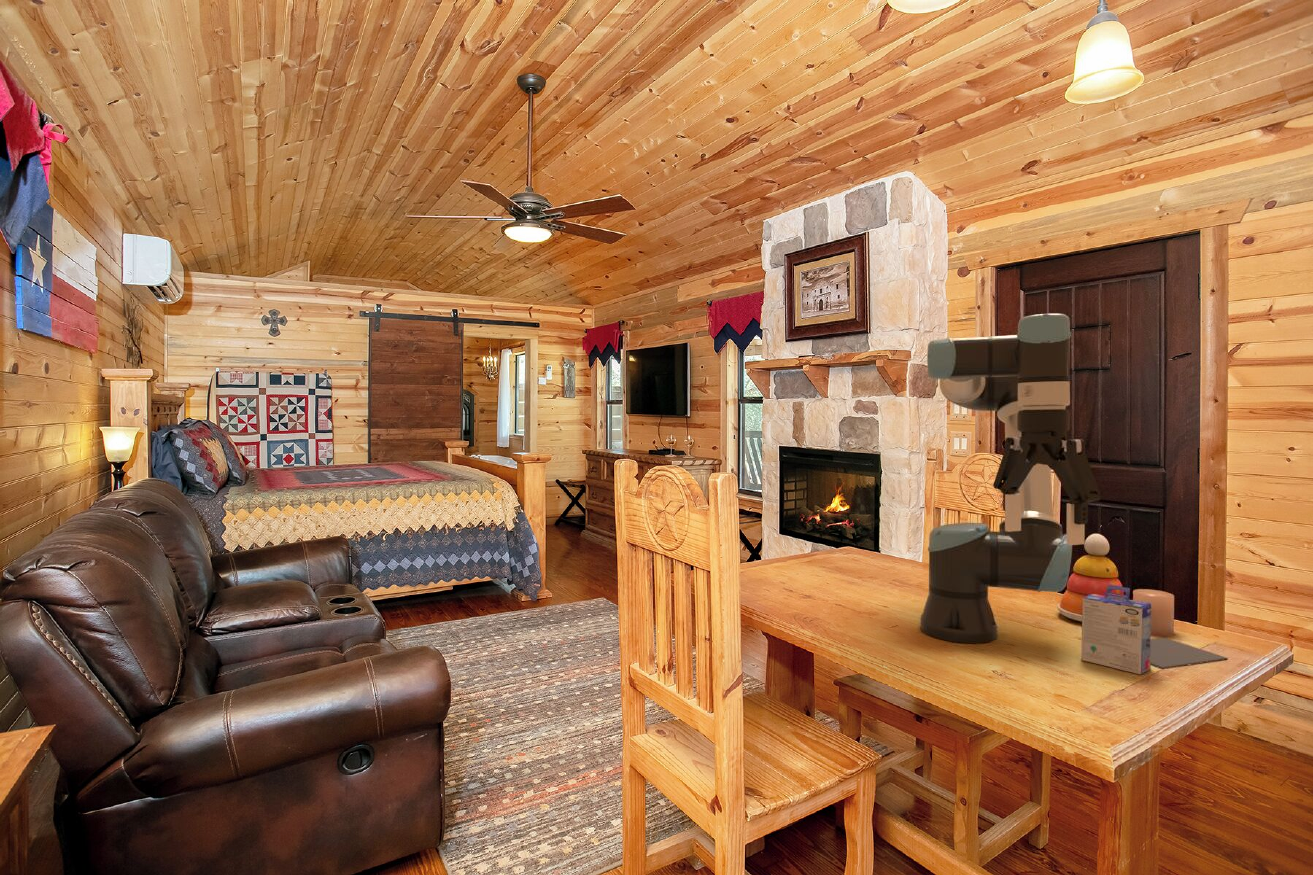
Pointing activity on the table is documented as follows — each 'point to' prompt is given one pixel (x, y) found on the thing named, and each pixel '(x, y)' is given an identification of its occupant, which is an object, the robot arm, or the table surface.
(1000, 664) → the table surface
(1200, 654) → the mat
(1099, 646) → the ink cartridge box
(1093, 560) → the stacking toy
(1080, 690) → the table surface
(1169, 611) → the pink pillar candle
